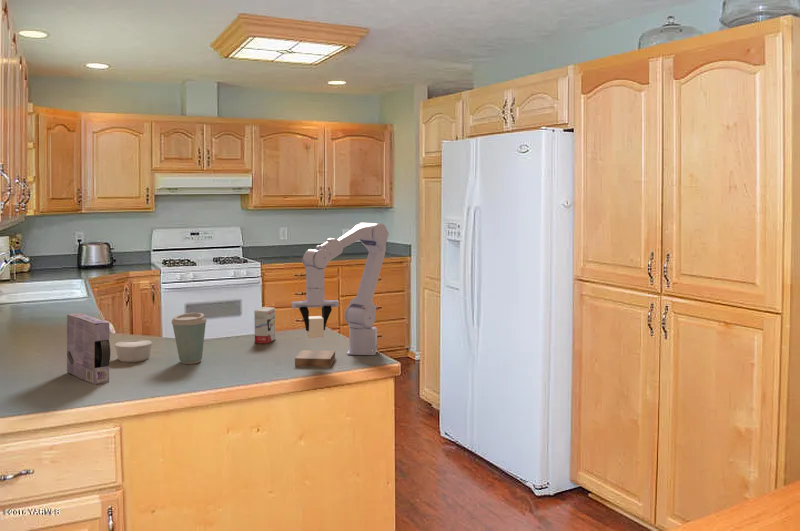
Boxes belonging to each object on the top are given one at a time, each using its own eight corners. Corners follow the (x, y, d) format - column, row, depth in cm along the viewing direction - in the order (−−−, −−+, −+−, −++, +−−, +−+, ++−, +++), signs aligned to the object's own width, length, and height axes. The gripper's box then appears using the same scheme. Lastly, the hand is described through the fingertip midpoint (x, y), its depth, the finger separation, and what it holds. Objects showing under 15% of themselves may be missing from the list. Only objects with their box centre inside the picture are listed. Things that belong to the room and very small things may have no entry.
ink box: (266, 344, 247) (266, 311, 246) (253, 343, 248) (253, 310, 247) (275, 338, 256) (275, 307, 254) (263, 338, 257) (263, 306, 255)
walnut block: (335, 360, 228) (335, 351, 227) (330, 368, 217) (330, 359, 216) (301, 359, 228) (301, 350, 228) (295, 367, 217) (295, 358, 217)
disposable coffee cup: (193, 367, 214) (192, 319, 213) (164, 364, 218) (163, 316, 216) (214, 359, 224) (213, 313, 223) (186, 356, 228) (185, 311, 226)
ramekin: (143, 353, 232) (142, 337, 232) (158, 359, 224) (158, 343, 224) (109, 358, 224) (108, 342, 224) (124, 365, 216) (123, 348, 216)
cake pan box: (113, 382, 197) (111, 320, 195) (95, 386, 193) (93, 323, 192) (83, 370, 210) (80, 312, 208) (65, 373, 206) (63, 314, 204)
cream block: (321, 334, 224) (321, 315, 224) (323, 337, 220) (323, 318, 219) (307, 334, 223) (307, 316, 222) (309, 337, 219) (309, 319, 218)
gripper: (335, 285, 226) (335, 326, 227) (290, 286, 222) (290, 328, 223) (339, 288, 219) (339, 330, 220) (293, 289, 215) (293, 333, 216)
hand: (315, 330), depth 221 cm, fingers closed on cream block, 4 cm apart
